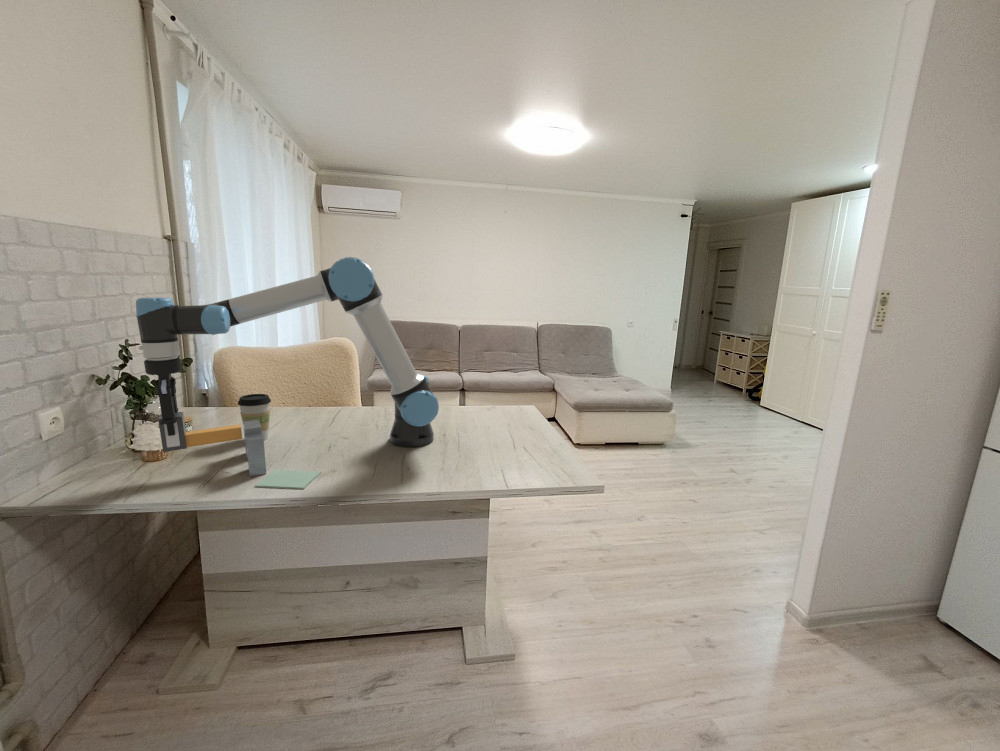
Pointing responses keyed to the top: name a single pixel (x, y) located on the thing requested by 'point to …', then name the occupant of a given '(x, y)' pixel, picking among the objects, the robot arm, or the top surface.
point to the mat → (288, 479)
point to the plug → (199, 434)
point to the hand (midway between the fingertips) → (174, 442)
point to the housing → (254, 447)
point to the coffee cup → (256, 410)
